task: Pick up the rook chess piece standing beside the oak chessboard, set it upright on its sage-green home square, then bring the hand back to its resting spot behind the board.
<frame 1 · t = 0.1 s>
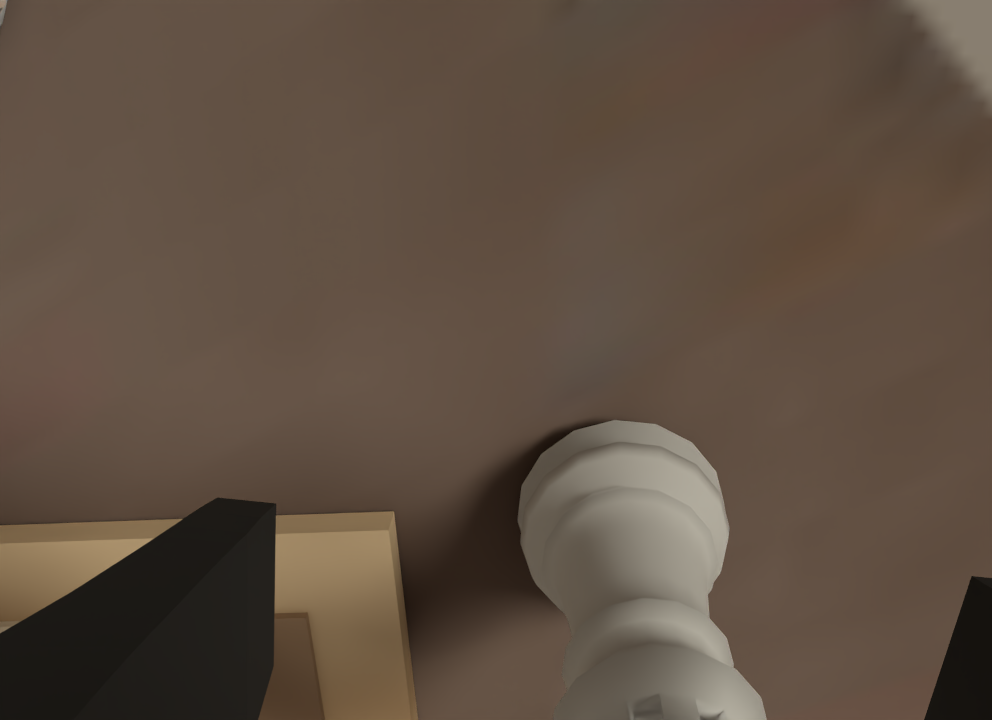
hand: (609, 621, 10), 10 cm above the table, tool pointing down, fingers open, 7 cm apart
rook chess piece: (617, 498, 21), on the table
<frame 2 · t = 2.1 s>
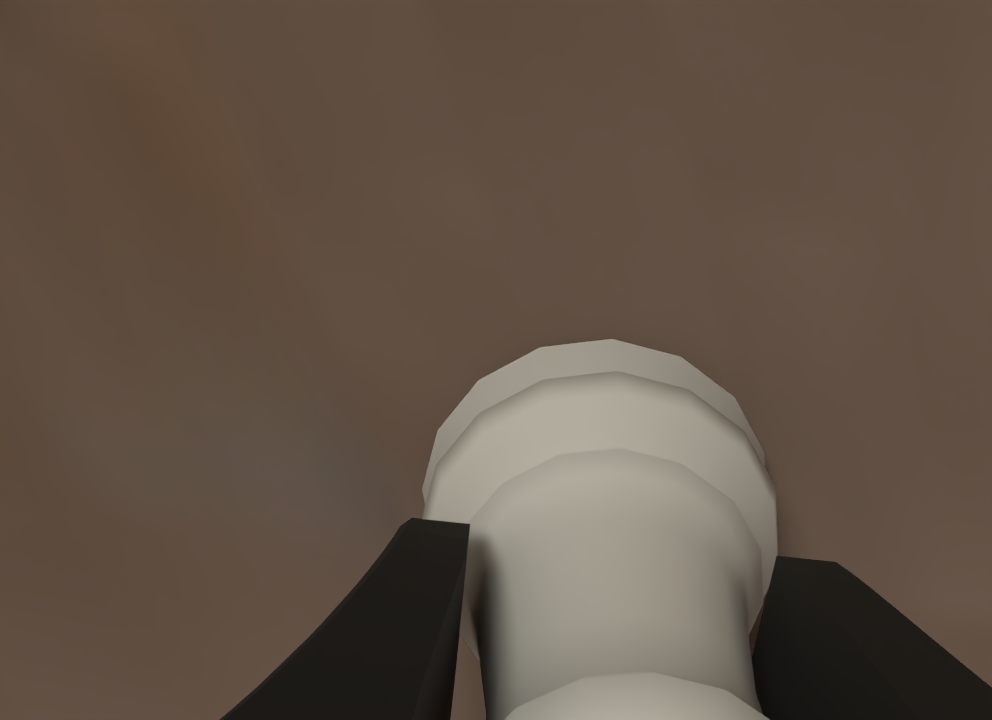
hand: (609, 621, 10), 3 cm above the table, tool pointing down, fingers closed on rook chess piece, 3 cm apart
rook chess piece: (591, 476, 13), on the table, touching gripper
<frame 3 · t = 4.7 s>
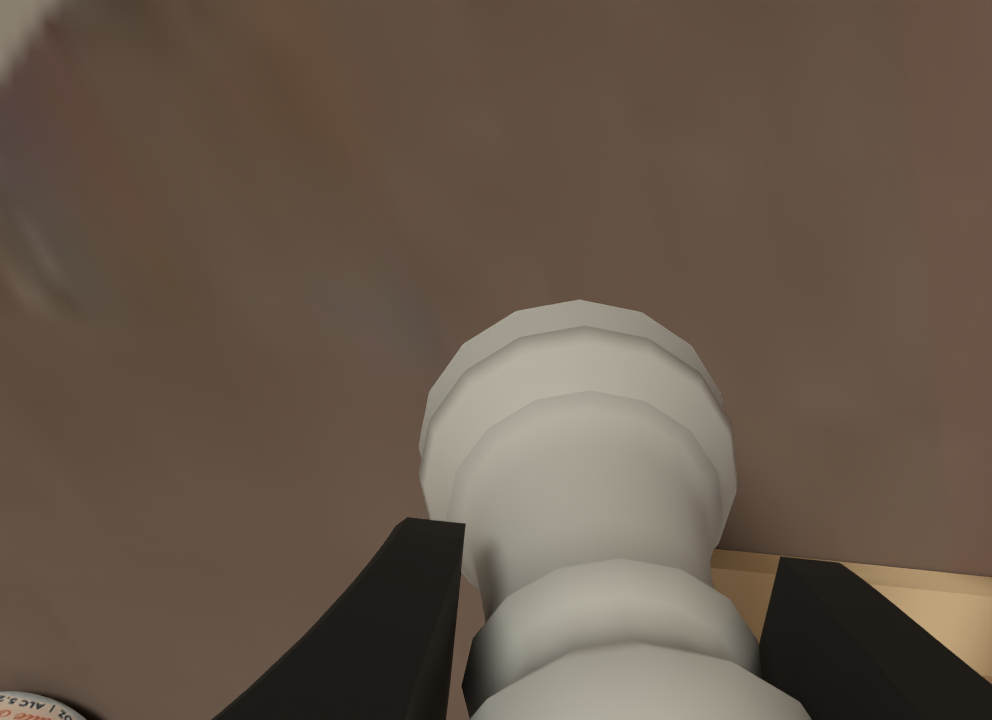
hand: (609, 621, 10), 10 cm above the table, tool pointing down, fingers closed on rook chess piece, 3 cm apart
rook chess piece: (569, 427, 14), point 5 cm above the table, touching gripper
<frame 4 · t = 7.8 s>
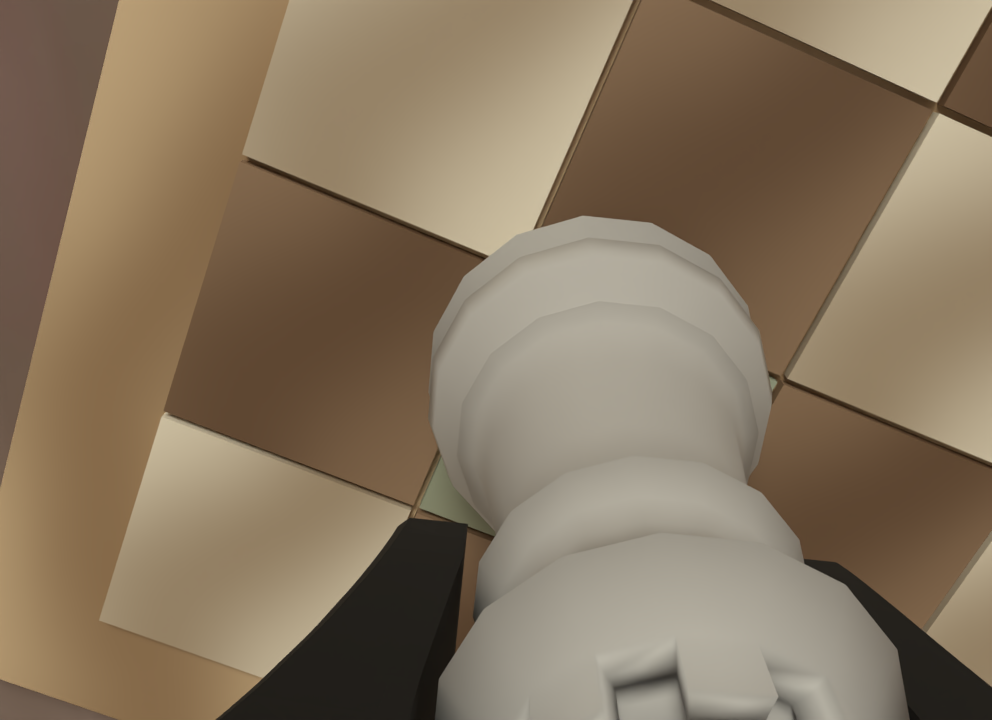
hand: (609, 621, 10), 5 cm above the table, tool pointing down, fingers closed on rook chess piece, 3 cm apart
chessboard: (765, 355, 14), on the table
rook chess piece: (589, 360, 13), point 1 cm above the table, touching chessboard, gripper
when the fingers open (5 cm above the table, at t = 8.1 s): rook chess piece stays where it is, resting on chessboard.
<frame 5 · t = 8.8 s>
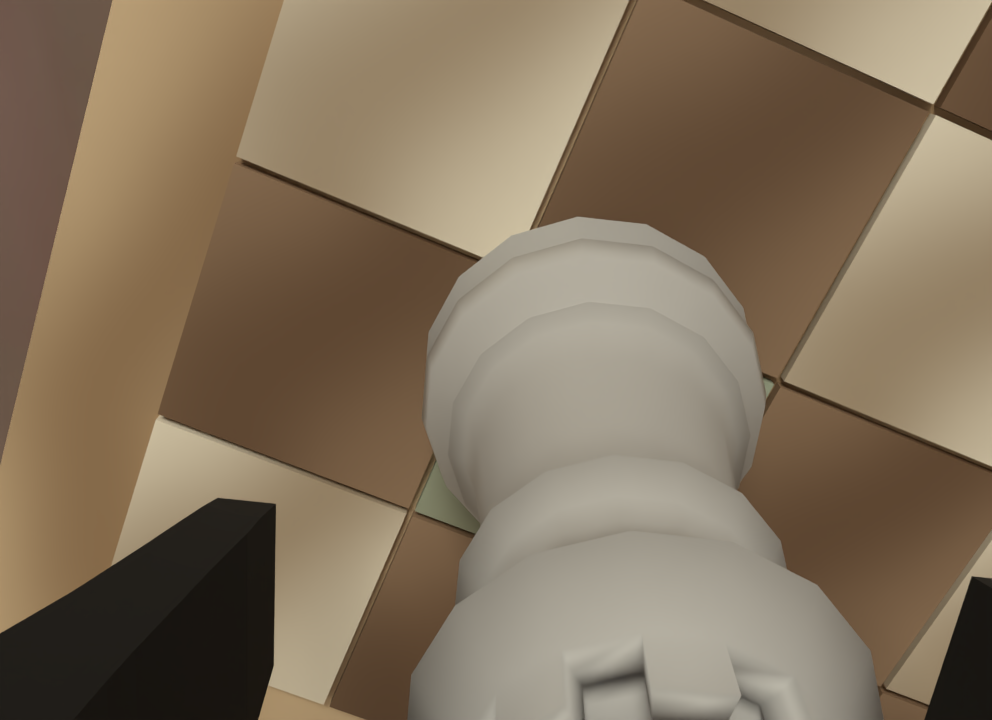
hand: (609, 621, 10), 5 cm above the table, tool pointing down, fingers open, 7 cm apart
chessboard: (762, 357, 14), on the table
rook chess piece: (585, 362, 13), point 1 cm above the table, touching chessboard
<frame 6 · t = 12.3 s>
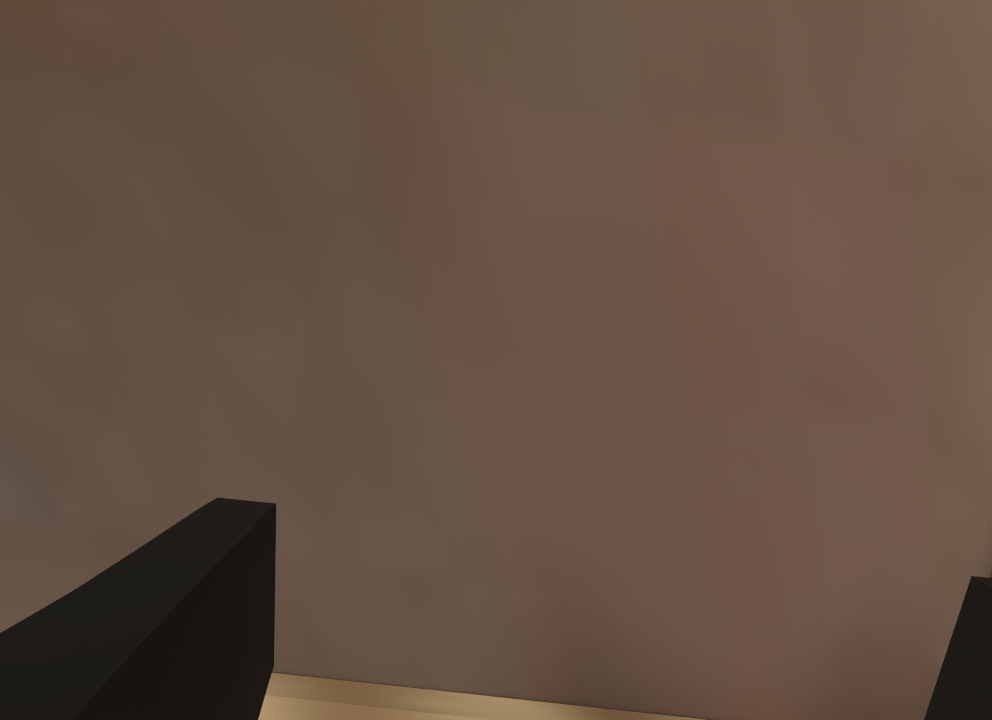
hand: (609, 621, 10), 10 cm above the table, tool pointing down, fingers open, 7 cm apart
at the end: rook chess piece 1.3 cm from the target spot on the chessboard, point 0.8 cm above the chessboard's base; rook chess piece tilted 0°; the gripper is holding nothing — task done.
